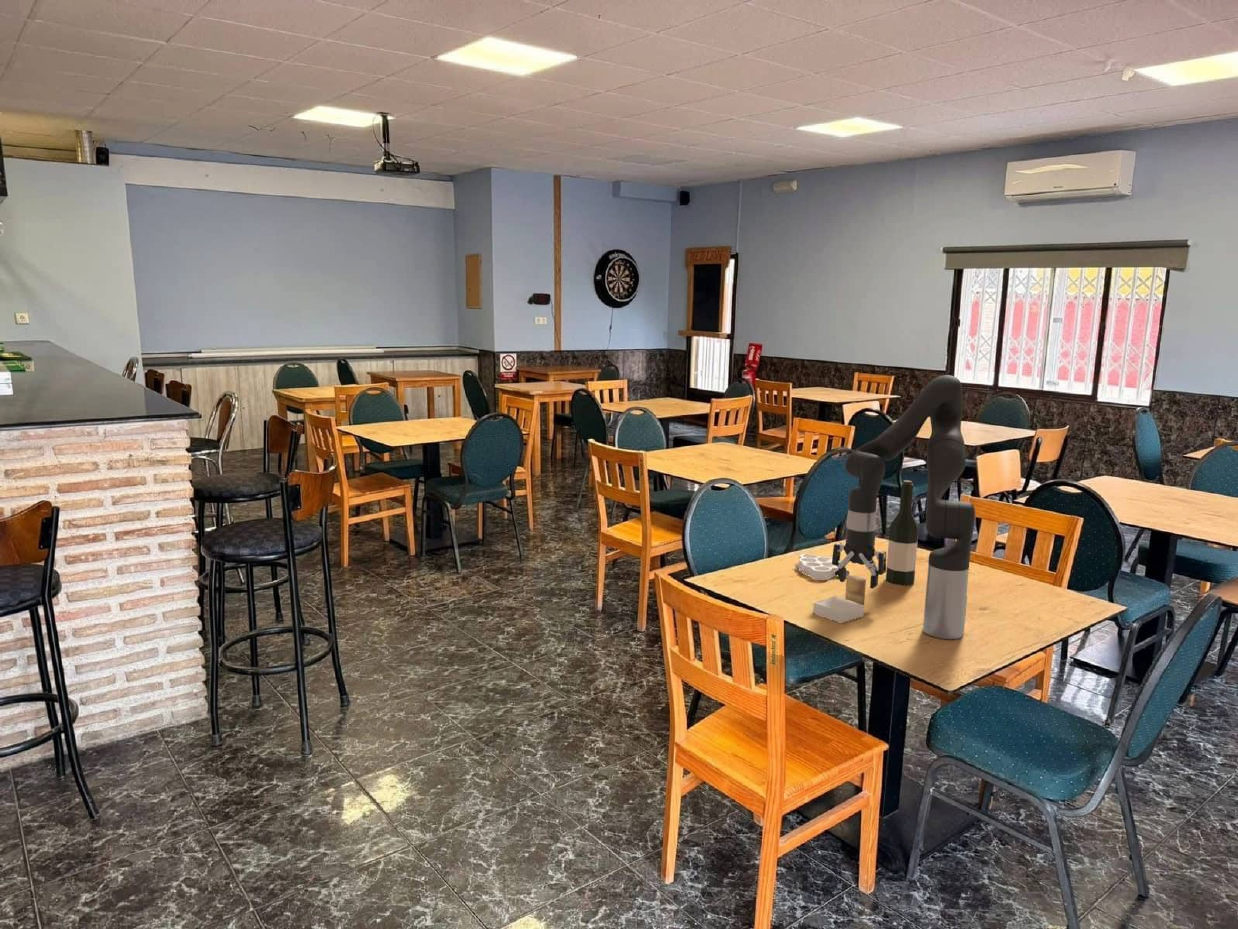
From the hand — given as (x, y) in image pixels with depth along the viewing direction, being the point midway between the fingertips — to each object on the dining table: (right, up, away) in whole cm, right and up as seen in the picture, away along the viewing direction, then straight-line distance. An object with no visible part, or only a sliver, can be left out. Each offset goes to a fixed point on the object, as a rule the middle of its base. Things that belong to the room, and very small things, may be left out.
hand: (857, 584), depth 224 cm
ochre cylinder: (-1, -5, 0) cm, 5 cm away
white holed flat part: (-3, -1, +28) cm, 28 cm away
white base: (-7, -7, -9) cm, 13 cm away
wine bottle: (+18, -2, +20) cm, 27 cm away
